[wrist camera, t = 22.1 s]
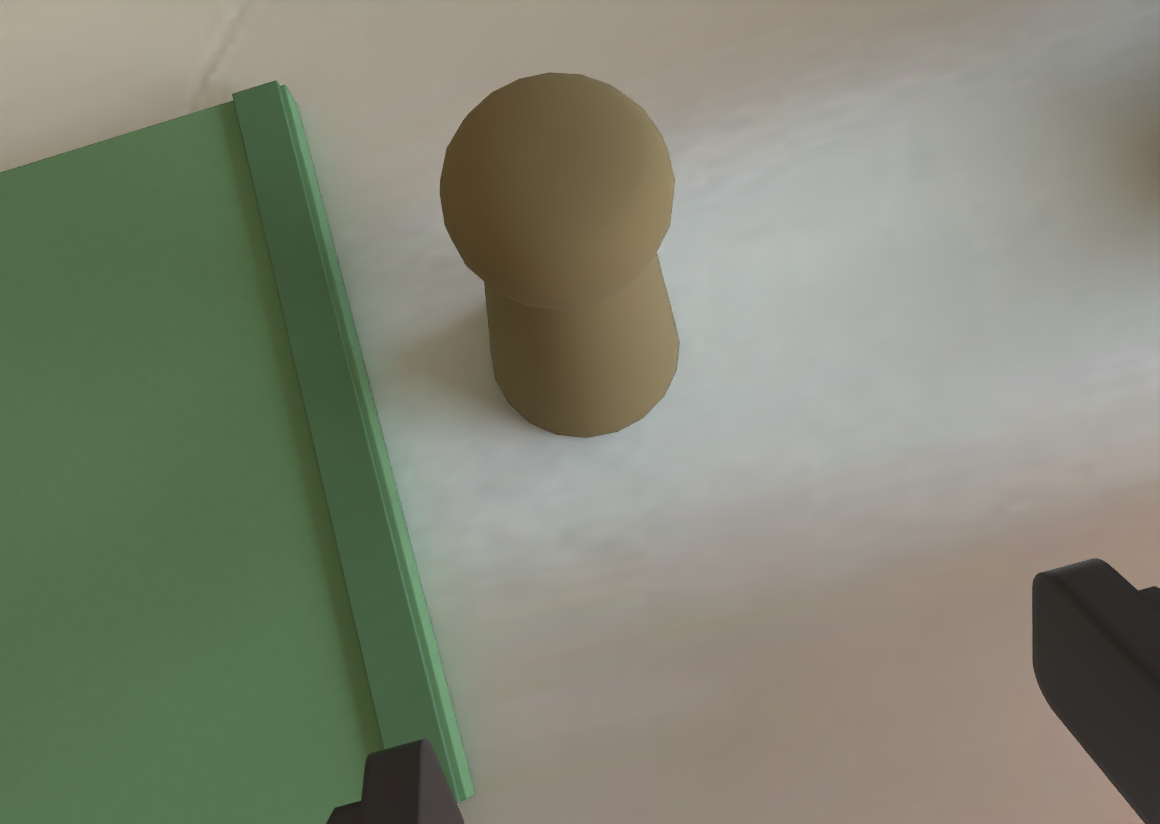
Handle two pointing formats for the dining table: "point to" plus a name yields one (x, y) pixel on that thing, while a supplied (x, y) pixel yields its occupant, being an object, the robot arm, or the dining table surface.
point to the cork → (567, 248)
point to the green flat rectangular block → (196, 492)
